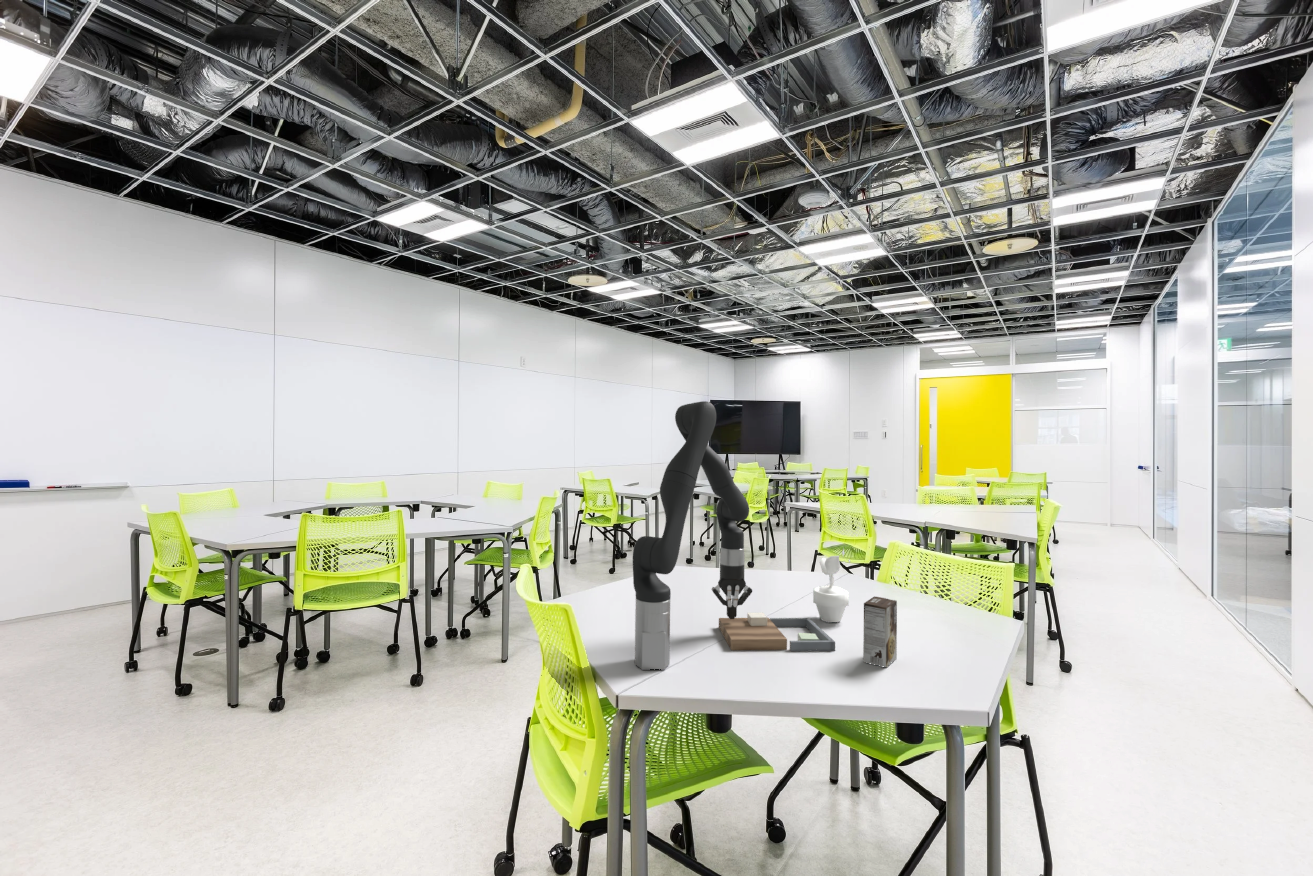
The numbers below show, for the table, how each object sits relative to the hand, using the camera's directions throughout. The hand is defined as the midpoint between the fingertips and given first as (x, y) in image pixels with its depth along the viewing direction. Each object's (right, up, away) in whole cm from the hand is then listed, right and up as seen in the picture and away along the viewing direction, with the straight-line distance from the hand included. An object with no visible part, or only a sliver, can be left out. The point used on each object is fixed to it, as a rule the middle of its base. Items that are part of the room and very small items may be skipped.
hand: (731, 618), depth 176 cm
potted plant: (+35, -5, +15) cm, 38 cm away
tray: (+20, -5, -3) cm, 20 cm away
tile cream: (+8, -2, 0) cm, 8 cm away
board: (+5, -5, -4) cm, 8 cm away
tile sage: (+21, -3, -8) cm, 23 cm away
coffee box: (+38, -5, -21) cm, 43 cm away
